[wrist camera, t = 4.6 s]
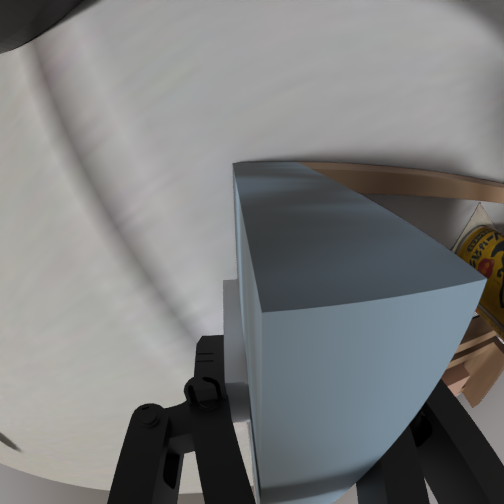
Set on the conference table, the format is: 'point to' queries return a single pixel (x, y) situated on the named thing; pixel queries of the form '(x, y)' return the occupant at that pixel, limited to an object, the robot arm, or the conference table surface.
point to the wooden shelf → (343, 316)
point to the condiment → (485, 265)
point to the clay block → (455, 378)
